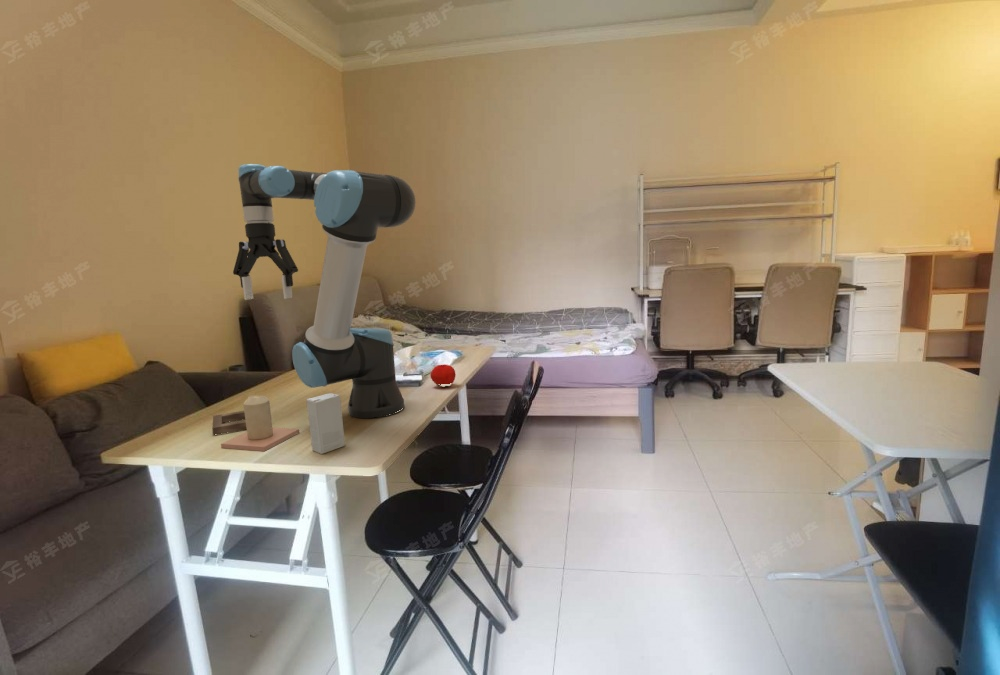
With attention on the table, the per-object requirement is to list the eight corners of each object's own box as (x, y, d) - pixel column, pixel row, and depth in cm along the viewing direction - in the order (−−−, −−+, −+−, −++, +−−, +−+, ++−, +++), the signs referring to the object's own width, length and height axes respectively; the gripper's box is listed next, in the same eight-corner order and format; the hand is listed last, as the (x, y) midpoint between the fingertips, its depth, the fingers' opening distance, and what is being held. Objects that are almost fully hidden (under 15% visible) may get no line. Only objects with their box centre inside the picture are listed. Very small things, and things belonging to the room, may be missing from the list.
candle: (277, 431, 123) (272, 392, 121) (265, 440, 117) (260, 398, 116) (255, 432, 123) (250, 392, 122) (243, 440, 118) (237, 399, 116)
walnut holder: (263, 414, 141) (262, 407, 141) (266, 426, 131) (265, 418, 130) (214, 422, 136) (213, 415, 135) (213, 435, 125) (212, 428, 125)
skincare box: (335, 442, 117) (330, 391, 115) (346, 446, 114) (341, 394, 112) (310, 451, 112) (305, 398, 110) (321, 455, 109) (315, 401, 107)
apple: (427, 389, 160) (426, 366, 159) (437, 383, 168) (435, 361, 167) (451, 390, 158) (449, 367, 157) (459, 384, 165) (458, 361, 164)
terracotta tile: (299, 432, 124) (299, 429, 124) (264, 451, 113) (263, 447, 113) (259, 430, 128) (259, 426, 128) (221, 447, 116) (220, 443, 116)
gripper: (305, 221, 141) (313, 296, 144) (233, 226, 148) (243, 298, 152) (287, 219, 134) (296, 299, 137) (213, 225, 141) (223, 300, 144)
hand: (268, 298), depth 144 cm, fingers open, 13 cm apart
